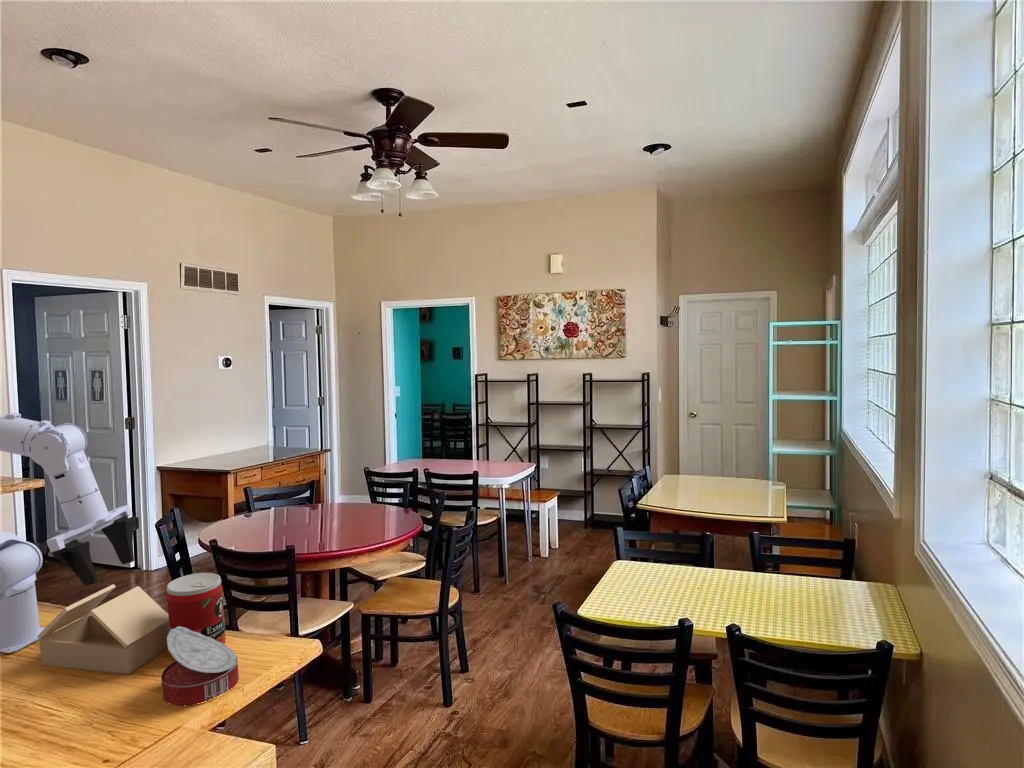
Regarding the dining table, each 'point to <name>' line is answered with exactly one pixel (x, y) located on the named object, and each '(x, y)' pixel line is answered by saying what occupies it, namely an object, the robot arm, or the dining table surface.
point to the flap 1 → (76, 611)
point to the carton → (99, 648)
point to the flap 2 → (130, 616)
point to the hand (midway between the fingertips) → (110, 572)
